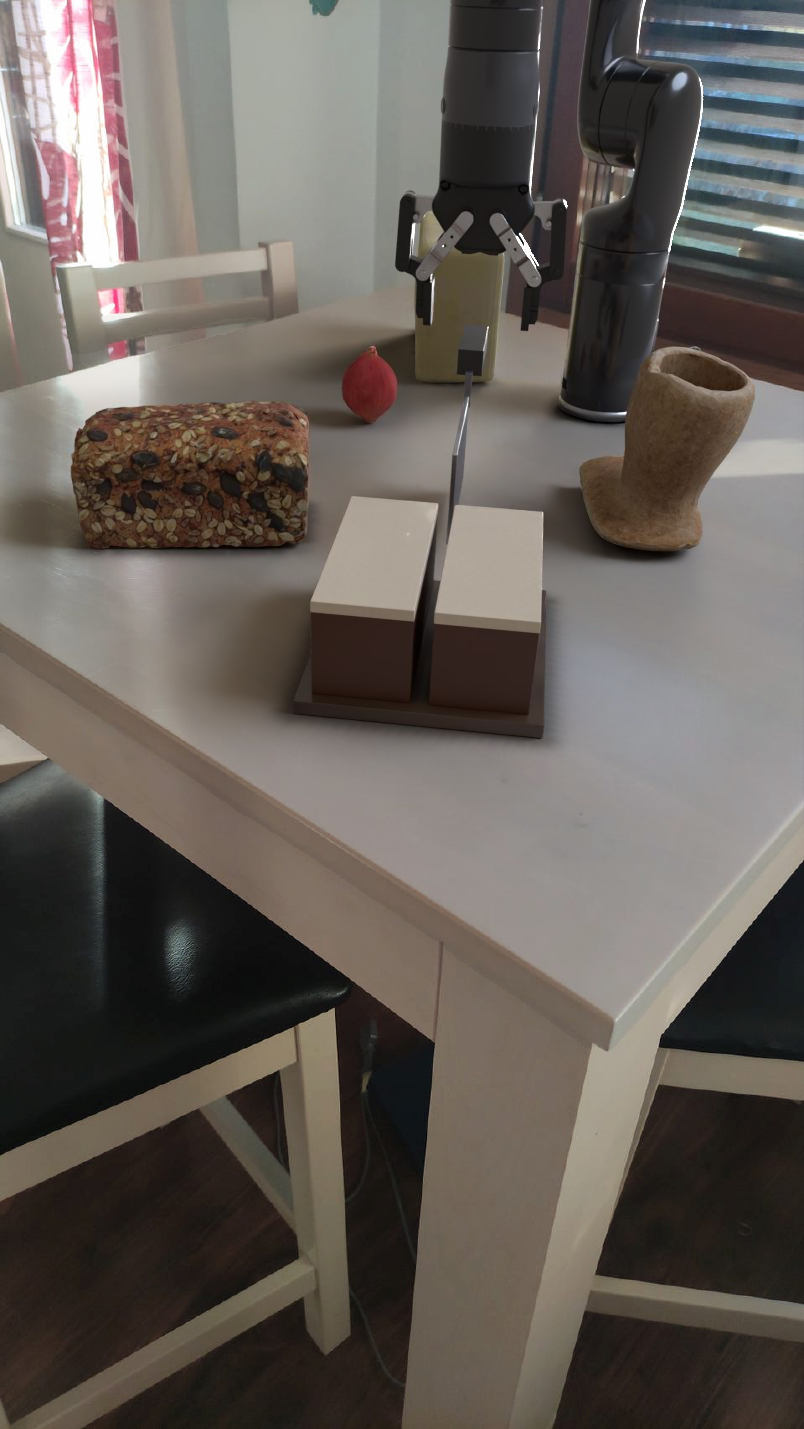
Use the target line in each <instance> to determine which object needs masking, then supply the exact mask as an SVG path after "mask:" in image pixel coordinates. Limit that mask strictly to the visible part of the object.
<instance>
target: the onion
mask: <svg viewBox="0 0 804 1429" xmlns="http://www.w3.org/2000/svg"><path fill="white" fill-rule="evenodd" d="M377 351H378V350H377V348H376V346H375V345H370V346H368V348H367V349H366V350H365V351H363V353H362V354H360V355H359V356H357V358H355V359H354V360H353V361H352V362H351V363H350V364H349V365H348V366H347V368H346V369H345V371H344V374H343V376H342V380H341V395H342V400H343V401H344V403H345V405H346V407H348V409H349V410H350V411H352V412H353V413H354V414H355V415H356V416H357V417H359V418H360V419H361V420H363V421H364V422H365V423H367V424H368V423H369V424H373V423H375V422H376V421H377V420H378V419H379V418H380V417H381V416H383V415H384V414H386V413H387V411H388V410H390V409H391V408H392V407H393V405H394V403H395V402H396V399H397V394H398V389H399V388H398V379H397V376H396V373H395V372H394V369H392V367H391V365H389V363H388V362H387V361H386V359H383V358H382V357H381V356H379V355H378V352H377Z"/></svg>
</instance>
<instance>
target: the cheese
mask: <svg viewBox="0 0 804 1429" xmlns="http://www.w3.org/2000/svg"><path fill="white" fill-rule="evenodd" d="M442 233H443V229H442V227H441V226H440V224H439V222H438V221H437V219H436V217H435V216H434V214H433V211H427V212H426V213H425V216H424V218H423V220H422V221H421V222H420V223H419V238H418V247H417V255H416V257H418V258H421V259H423V258H424V257H425V255H426V254H427V253H428V251H429V250H430V249H431V248H432V246H433V245H434V243H435V242H436V241H437V239H438V238H439V237H440V235H441V234H442ZM504 270H505V252H503V253H501V254H499V255H498V256H493V255H487V254H484V253H481V252H478V253H474V254H461V252H460V251H458V250H457V249H455V248H454V247H453V248H452V249H451V251H450V252H449V253H448V255H447V256H446V257H445V258H444V260H443V261H442V262H441V263H440V264H439V265H438V266H437V268H436V269H435V270H434V272H433V273H432V276H434V277H435V278H434V302H433V320H432V324H431V326H425V325H423V318H417V315H416V285H417V284H416V279H415V278H414V298H413V299H414V304H413V305H414V307H413V308H414V342H415V343H414V345H415V346H414V347H415V348H414V352H415V353H414V354H415V355H414V356H415V357H414V358H415V360H414V361H415V363H414V364H415V367H414V368H415V374H414V375H415V378H416V381H419V382H421V383H465V375H457V362H458V349H459V345H460V341H461V337H462V334H463V330H464V326H465V325H477V326H488V337H487V350H486V355H485V361H484V366H483V371H482V376H472V383H482V382H483V383H484V382H489V381H492V380H493V379H494V376H495V369H496V362H497V352H498V338H499V337H498V336H499V324H500V314H501V313H500V312H501V301H502V290H503V280H504Z"/></svg>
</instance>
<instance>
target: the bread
mask: <svg viewBox="0 0 804 1429" xmlns="http://www.w3.org/2000/svg"><path fill="white" fill-rule="evenodd" d="M73 446H74V447H73V448H74V449H73V450H74V451H73V452H72V453H71V460H72V461H71V462H72V463H71V465H70V479H71V484H72V492H73V494H74V497H75V502H76V503H75V504H76V510H77V515H78V518H79V523H80V524H79V525H80V528H81V530H82V533H83V535H84V538H85V540H86V543H87V546H89V547H92V548H93V549H97V550H98V549H99V550H100V549H107V548H108V549H109V547H110V546H114V547H122V548H131V549H135V548H137V549H138V548H144V547H148V548H153V549H154V548H155V549H165V548H172V547H173V548H178V547H181V548H194V547H195V548H210V547H213V548H219V547H221V546H233V547H236V548H237V547H248V548H249V547H253V548H260V547H267V546H271V547H279V546H280V547H281V546H282V545H284V544H286V543H289V544H293V545H297V544H300V543H302V542H305V541H306V540H307V533H308V519H309V518H308V517H309V503H310V470H311V469H310V456H309V455H310V420H309V418H308V412H307V411H305V410H304V409H303V408H302V407H301V406H298V405H294V404H290V403H287V402H285V401H278V400H277V401H276V400H275V401H274V400H272V401H257V400H249V401H239V402H229V403H228V402H227V403H225V402H218V401H207V402H206V401H205V402H204V401H203V402H199V403H190V402H187V403H186V404H183V403H180V404H177V405H165V404H158V405H140V406H119V407H106V408H102V409H100V410H98V411H96V412H95V413H93V415H91V416H90V417H88V418H86V420H85V421H84V426H83V428H80V427H78V429H77V431H76V432H75V438H74V445H73Z"/></svg>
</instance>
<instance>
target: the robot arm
mask: <svg viewBox="0 0 804 1429" xmlns="http://www.w3.org/2000/svg"><path fill="white" fill-rule="evenodd" d="M544 3H545V0H449V15H448V16H449V17H448V36H447V37H448V40H447V46H448V47H447V54H446V55H447V56H446V62H445V67H444V74H443V81H442V82H443V84H442V98H441V100H440V113H441V127H440V128H441V129H440V148H439V149H440V153H439V173H438V174H439V175H438V188H437V191H436V193H435V194H434V196H433V195H425V194H418V193H416V192H415V191H414V190H412V189H411V190H410V189H409V190H406V191H405V192H404V193H403V195H402V196H401V198H400V200H399V207H398V208H399V209H398V218H397V219H398V220H397V231H396V232H397V234H396V245H395V246H396V249H395V259H394V267H395V269H396V271H397V272H400V273H406V274H408V275H410V276H412V277H413V278H414V280H415V279H416V284H417V285H416V315H417V318H423V325H425V326H431V324H432V320H433V302H434V278H435V277H434V276H432V273H433V272H434V270H435V269H436V268H437V266H438V265H439V264H440V263H441V262H442V261H443V260H444V258H445V257H446V256H447V255H448V253H449V252H450V251H451V249H452V248H453V247H454V248H455V249H457V250H458V251H460V252H461V254H474V253H478V252H481V253H484V254H487V255H493V256H498V255H499V254H501V253H505V252H507V254H508V255H509V257H510V258H511V260H512V262H513V263H514V265H515V266H516V267H517V268H518V270H519V271H520V273H521V275H522V277H523V278H524V280H525V281H524V287H523V298H522V307H521V308H522V309H521V320H520V322H521V323H520V331H521V332H529V327H530V325H531V326H532V325H533V326H534V325H536V323H537V321H538V317H539V310H540V309H539V307H540V297H541V289H542V287H543V285H545V284H546V283H548V282H551V281H559V280H561V279H562V278H563V276H564V274H565V256H566V238H567V237H566V235H567V218H568V205H567V201H566V199H565V198H564V197H561V196H560V197H559V196H558V197H555V198H554V199H553V200H546V201H545V200H540V201H537V200H536V201H535V200H534V198H533V195H532V190H531V189H532V179H533V178H532V177H533V167H534V155H535V154H534V153H535V144H536V135H537V134H536V131H537V121H538V115H539V110H540V109H539V108H540V106H539V100H540V99H539V98H540V84H541V82H540V81H541V80H540V78H541V77H540V50H539V49H540V46H541V36H542V26H543V14H544V13H543V12H544V5H545V4H544ZM645 4H646V0H589V5H588V14H587V22H586V31H585V39H584V46H583V54H582V63H581V71H580V78H579V88H578V98H577V113H576V115H577V118H576V119H577V120H576V122H577V123H576V124H577V136H578V137H577V138H578V141H579V145H580V149H581V151H582V153H583V155H584V157H585V158H586V159H587V160H589V161H590V162H592V163H594V164H597V165H603V166H608V167H613V168H618V169H625V170H629V171H630V170H631V171H633V174H632V179H631V182H630V186H629V189H628V191H627V193H626V194H625V195H623V197H621V198H619V199H618V200H616V201H614V202H609V203H606V204H601V205H598V206H594V207H592V208H590V209H588V210H587V211H586V212H585V213H584V215H583V217H582V222H581V227H580V234H579V244H578V252H577V258H576V259H577V260H576V269H575V276H574V284H573V293H572V301H571V308H570V309H571V310H570V316H569V324H568V330H567V331H568V333H567V340H566V348H565V356H564V364H563V371H562V376H561V377H560V378H561V379H560V383H561V385H560V392H559V395H558V396H559V398H558V403H557V404H558V407H559V409H560V410H561V411H563V412H564V413H566V414H568V415H570V416H573V417H575V418H578V419H583V420H585V421H586V420H587V421H592V422H600V423H601V422H602V423H623V422H625V419H626V412H627V408H628V404H629V401H630V397H631V394H632V390H633V387H634V384H635V381H636V377H637V374H638V371H639V368H640V366H641V364H642V363H643V362H644V360H645V359H646V358H647V357H648V356H649V355H650V354H651V353H653V352H655V347H656V342H657V336H658V330H659V324H660V323H659V316H660V311H661V303H662V298H663V294H664V286H665V283H666V282H665V281H666V274H667V270H668V269H667V268H668V263H669V257H670V252H671V246H672V240H673V235H674V231H675V229H676V226H677V223H678V220H679V218H680V215H681V212H682V209H683V205H684V200H685V196H686V190H687V186H688V180H689V176H690V171H691V168H692V167H691V166H692V162H693V159H694V155H695V149H696V145H697V141H698V137H699V132H700V126H701V120H702V113H703V100H704V99H703V97H704V96H703V93H704V92H703V85H702V82H701V78H700V75H699V74H698V72H697V70H696V69H695V68H694V67H692V66H690V65H689V64H685V63H680V62H673V61H661V60H652V59H641V58H638V57H639V55H638V54H639V39H640V31H641V24H642V19H643V18H642V17H643V13H644V8H645ZM430 211H431V212H433V214H434V216H435V217H436V219H437V221H438V222H439V224H440V226H441V227H442V229H443V233H442V234H441V235H440V237H439V238H438V239H437V241H436V242H435V243H434V245H433V246H432V248H431V249H430V250H429V251H428V253H427V254H426V255H425V257H424V258H423V259H421V258H418V257H417V255H414V253H413V252H414V242H415V231H416V230H415V229H416V224H420V222H421V221H422V220H423V218H424V216H425V213H426V212H430ZM534 216H536V217H538V218H539V219H540V221H541V228H543V229H544V230H545V231H550V241H549V242H550V243H549V261H548V262H545V263H543V264H539V263H538V262H537V260H536V258H535V257H534V254H533V253H532V252H531V249H530V247H529V245H528V243H527V242H526V240H525V239H524V237H523V235H522V232H523V231H524V230H525V229H526V227H528V225H529V224H530V223H531V221H532V219H533V218H534ZM689 348H690V349H694V350H698V351H701V352H703V351H702V350H701V348H700V347H698V346H691V347H689Z"/></svg>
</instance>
